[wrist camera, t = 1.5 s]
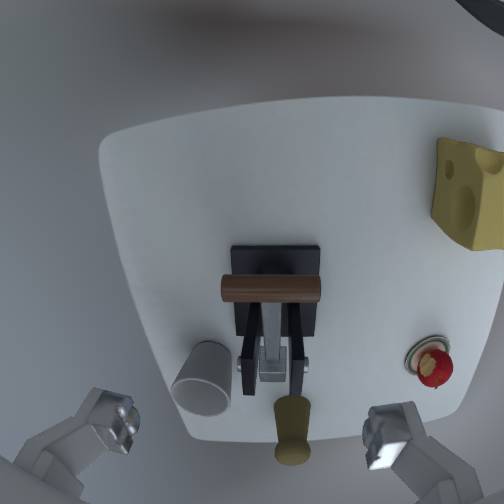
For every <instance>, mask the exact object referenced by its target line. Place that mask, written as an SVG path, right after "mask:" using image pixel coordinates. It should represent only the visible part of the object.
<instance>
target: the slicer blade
mask: <svg viewBox="0 0 504 504" xmlns="http://www.w3.org/2000/svg"><path fill="white" fill-rule="evenodd" d="M221 297H222V300H223V301H224V302H258V303H261V312H262V323H263V335H264V346H260V358H259V377H260V382H285V378H286V346H280V338H281V306H282V303H316V302H319V301H320V297H321V280H320V276H319V275H237V274H225V275H223V277H222V280H221Z"/></svg>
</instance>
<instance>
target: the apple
mask: <svg viewBox="0 0 504 504" xmlns="http://www.w3.org/2000/svg"><path fill="white" fill-rule="evenodd" d="M449 351H450V344H449V342H448V340H447V339H446V338H444V337H439V336H438V337H431V338H428V339H426V340H424V341H422V342H421V343H419V344H418V345H417V346H416V347H415V348H414V349H413V350H412V351H411V352H410V354H409V355H408V357H407V359H406V363H405V367H406V370H407V372H408V373H409V374H411V375H414V376H418V378H419V380H420V381H421V382H422V383H423V384H424V385H425V386H428V387H435V389H437V387H438V386H440V385H442V384H444V383H445V382H446V381H447V380H448V379H449V378H450V376H451V374H452V372H453V363H452V360H451V357H450V356H449V355H448V354H449Z"/></svg>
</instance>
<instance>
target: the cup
mask: <svg viewBox="0 0 504 504" xmlns="http://www.w3.org/2000/svg"><path fill="white" fill-rule="evenodd" d="M231 381H232V358H231V354H230V353H229V351H228V350H227V349H226V348H225V347H223V346H222V345H220V344H217V343H214V342H203V343H200V344H198V345H197V346H196V347H195V348H194V349H193V351H192V352H191V354H190V355H189V357H188V359H187V360H186V362H185V363H184V365H183V367H182V368H181V370H180V372H179V374H178V376H177V377H176V379H175V381H174V383H173V384H172V387H171V396H172V398H173V400H174V401H175V402H176V404H177V405H178V406H180V407H181V408H182V409H184V410H186V411H187V412H189V413H192V414H195V415H199V416H204V417H211V416H218V415H220V414H223V413H224V412H225V411H227V410H228V408H229V407H230V402H231Z"/></svg>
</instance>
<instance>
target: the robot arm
mask: <svg viewBox="0 0 504 504" xmlns="http://www.w3.org/2000/svg"><path fill="white" fill-rule="evenodd" d="M499 1H501V2H504V0H499ZM133 403H134V401H133V399H132V397H131V396H127V395H123V394H118V393H114V392H110V391H107V390H102V389H98V388H93V389H92V390H91V391H90V392H89V394H88V395H87V397H86V399H85V400H84V402H83V403H82V405H81V407H80V408H79V410H78V412H77V413H76V415H75V416H74V417H69V418H68V419H66V420H64V421H62V422H60V423H59V424H56V425H55V426H53V427H51V428H49V429H47V430H45V431H43V432H42V433H39V434H38V435H36V436H34V437H32V438H30V439H28V440H27V441H26V442H25V444H24V446H23V447H22V449H21V450H20V452H19V454H18V456H17V457H16V459H15V461H14V462H13V463H11V462H10V461H8V460H7V459H5V458H4V457H2V456H1V455H0V504H89V503H87V502H85V501H82V500H80V496H81V494H82V492H83V489H84V485H83V484H82V483H81V482H80V481H79V480H78V479H77V478H76V477H75V476H76V475H78V474H79V473H80V472H82V471H83V470H84V469H86V468H87V467H88V466H90V465H91V464H92V463H94V462H95V461H96V460H97V459H99V458H100V457H101V456H103V455H104V454H105V453H106V452H108V450H109V451H113V452H116V453H120V454H124V455H128V453H129V451H130V448H131V446H132V443H133V440H132V437H131V436H133V435H134V434H136V433H137V432H138V429H139V426H140V415H139V412H138V410H137V409H136V408H135V407H133ZM368 415H369V418H368V419H367V420H365V422H364V425H363V432H362V436H363V444H364V446H366V447H367V448H368V451H367V453H366V461H367V467H368V470H374V469H382V468H389V467H391V469H392V470H393V471H394V472H395V473H396V474H397V475H398V476H399V478H400V479H401V480H402V481H403V482H404V483H405V484H406V485H407V486H408V487H409V488H410V489H411V490H412V491H413V492H414V493H415V494H416V495H417V496H418V497H419V499H420V500H418V501H417V502H416V503H415V504H504V488H503V489H501V490H499V491H497V492H495V493H493V494H491V495H489V496H486V497H484V496H483V492H482V489H481V486H480V483H479V480H478V477H477V475H476V472H475V469H474V468H473V467H472V466H470V465H469V464H468V463H466V462H465V461H464V460H462V459H461V458H459V457H458V456H457V455H455V454H454V453H453V452H451V451H450V450H448V449H447V448H446V447H445V446H443V445H442V444H440V443H439V442H438V441H437V440H435V439H434V438H432V437H431V436H429V437H427V435H426V432H425V430H424V426H423V424H422V421H421V418H420V416H419V413H418V410H417V408H416V405H415V403H414V402H413V401H409V402H403V403H394V404H387V405H380V406H372V407H371V408H370V410H369V412H368Z"/></svg>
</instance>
